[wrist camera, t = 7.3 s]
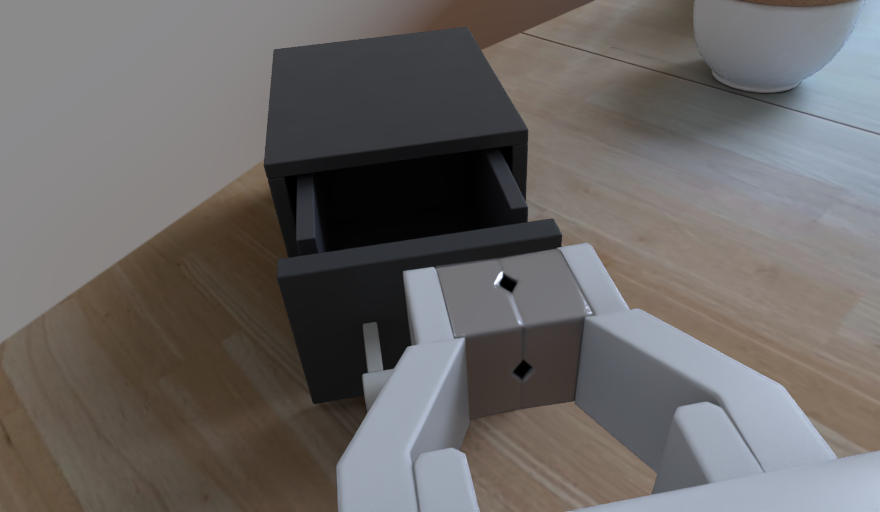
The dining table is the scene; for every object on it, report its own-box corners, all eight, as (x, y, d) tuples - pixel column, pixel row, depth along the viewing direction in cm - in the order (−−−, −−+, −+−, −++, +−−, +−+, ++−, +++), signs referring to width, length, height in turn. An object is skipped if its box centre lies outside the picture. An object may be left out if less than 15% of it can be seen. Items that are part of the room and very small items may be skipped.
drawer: (582, 438, 27) (601, 305, 22) (314, 487, 26) (272, 359, 21) (488, 207, 41) (487, 93, 36) (309, 233, 40) (283, 119, 35)
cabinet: (523, 279, 37) (528, 129, 31) (303, 314, 36) (263, 164, 29) (471, 154, 48) (467, 26, 42) (302, 177, 47) (273, 49, 41)
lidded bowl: (872, 88, 53) (930, -57, 46) (747, 121, 50) (788, -30, 43) (761, 38, 62) (795, -89, 55) (650, 63, 59) (671, -68, 52)
